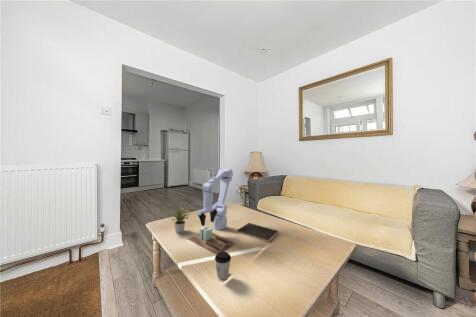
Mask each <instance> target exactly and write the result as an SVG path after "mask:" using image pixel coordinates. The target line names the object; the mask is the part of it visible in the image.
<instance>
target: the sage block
mask: <svg viewBox="0 0 476 317" xmlns="http://www.w3.org/2000/svg"><path fill="white" fill-rule="evenodd" d="M212 228H213V227H209V226H207V225H205V226H202V227H200V228H199V233H198V234H199V238H200V239H202V240H204V241H207V240H209V239H211V238H212V233H213V229H212Z"/></svg>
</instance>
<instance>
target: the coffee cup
mask: <svg viewBox="0 0 476 317" xmlns="http://www.w3.org/2000/svg"><path fill="white" fill-rule="evenodd" d="M231 260H232V257H231V254H230V253H229V252H227V251H221V252H219V253H217V254H215V257H214V261H215V267H216V268H215V269H216V277H217V278H218V281H219V282H221V280H223V282H226V281H227V280H228V279H229V277H228V276H229V273H230V266H231V265H230V264H231Z"/></svg>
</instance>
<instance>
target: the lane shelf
mask: <svg viewBox="0 0 476 317" xmlns="http://www.w3.org/2000/svg"><path fill="white" fill-rule="evenodd" d="M187 240H188V241H191V243H194V244H196V245H197V246H199V247H202V248H203V249H205V250H207V251H209V252H210V253H213V254H214V255H217V253H219V252H224V250H227V249H228V248H230V247H231V246H232V245H234V244H236V242H235V241H233V240H230V239H228V238H226V237H223V236H221V235H219V234H216V233H214V232H212V238H211V239H209V240H207V241H204V240H202V239H200V238H199V233H198V234H196V235H193V236H192V237H189V238H187Z"/></svg>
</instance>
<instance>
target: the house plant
mask: <svg viewBox="0 0 476 317" xmlns="http://www.w3.org/2000/svg"><path fill="white" fill-rule="evenodd" d="M185 209H186V208H184V207H182V208H179V209H178V210H177V209H175V210H174V211H175V212H174V211H171V214H173V218H171V222H173V221H175V222H174V223H173V224H174V229H175V233H176V234H182V233H184V232H185V225H186V221H185V220H189V217H188V216H190V215H192V214H191V213H190V214H189V210H190V209H187V210H185ZM184 211H185V212H184ZM175 218H176V219H175Z"/></svg>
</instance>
